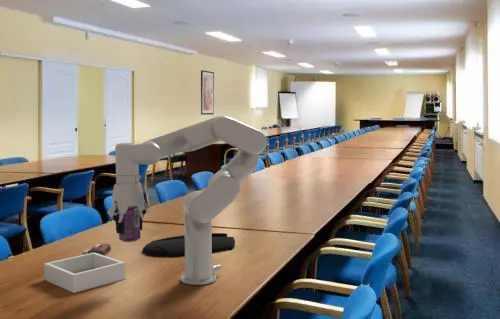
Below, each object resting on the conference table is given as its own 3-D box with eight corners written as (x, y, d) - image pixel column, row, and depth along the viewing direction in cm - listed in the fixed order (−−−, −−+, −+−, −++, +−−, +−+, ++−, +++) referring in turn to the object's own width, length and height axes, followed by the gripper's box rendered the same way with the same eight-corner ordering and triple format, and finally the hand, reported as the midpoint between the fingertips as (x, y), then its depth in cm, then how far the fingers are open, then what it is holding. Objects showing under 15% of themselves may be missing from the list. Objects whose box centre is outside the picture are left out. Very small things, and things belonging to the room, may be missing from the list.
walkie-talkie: (92, 249, 233) (75, 263, 213) (92, 239, 233) (75, 252, 213) (112, 250, 233) (97, 263, 213) (112, 240, 232) (97, 252, 212)
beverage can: (139, 237, 188) (138, 203, 187) (141, 241, 181) (140, 206, 180) (118, 239, 185) (117, 204, 184) (120, 243, 179) (118, 208, 178)
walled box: (94, 267, 205) (94, 252, 204) (125, 278, 191) (124, 262, 191) (44, 279, 190) (44, 263, 190) (73, 292, 177) (73, 275, 176)
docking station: (135, 247, 237) (135, 236, 236) (220, 238, 254) (220, 227, 254) (151, 262, 214) (150, 249, 214) (242, 250, 232) (242, 239, 232)
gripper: (142, 176, 190) (143, 225, 192) (99, 181, 177) (101, 234, 179) (155, 177, 185) (156, 228, 187) (111, 183, 172) (113, 237, 174)
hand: (129, 231), depth 183 cm, fingers closed on beverage can, 7 cm apart
